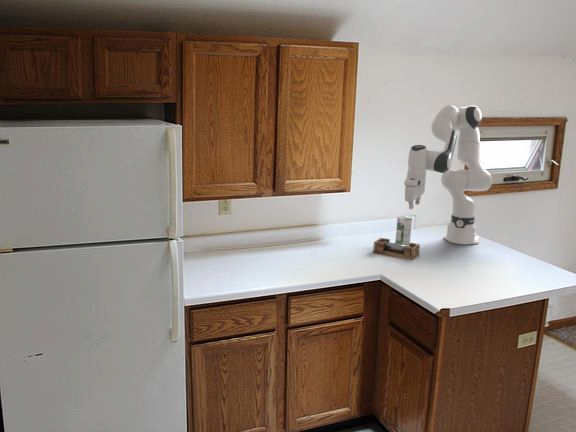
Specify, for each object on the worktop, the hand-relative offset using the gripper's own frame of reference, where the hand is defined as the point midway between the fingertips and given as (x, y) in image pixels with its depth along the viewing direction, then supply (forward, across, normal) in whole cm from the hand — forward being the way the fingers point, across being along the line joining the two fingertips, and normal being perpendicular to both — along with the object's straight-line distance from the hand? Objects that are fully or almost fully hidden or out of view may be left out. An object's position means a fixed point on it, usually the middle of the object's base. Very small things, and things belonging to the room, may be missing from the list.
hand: (414, 206), depth 285 cm
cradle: (+24, +7, -5) cm, 25 cm away
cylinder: (+22, +7, -5) cm, 24 cm away
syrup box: (+25, -13, -9) cm, 30 cm away
